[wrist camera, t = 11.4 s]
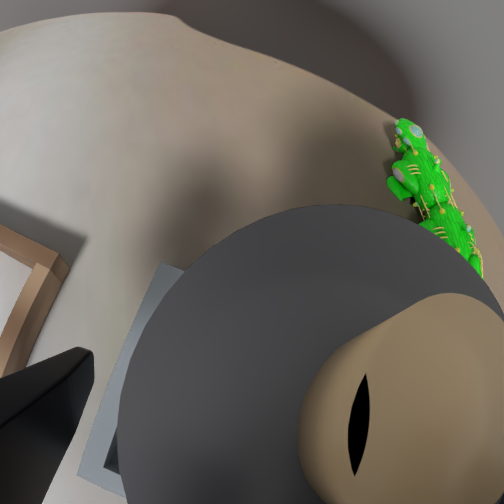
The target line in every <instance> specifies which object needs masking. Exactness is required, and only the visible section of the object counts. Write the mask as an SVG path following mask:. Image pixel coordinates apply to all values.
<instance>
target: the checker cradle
mask: <svg viewBox="0 0 504 504" xmlns="http://www.w3.org/2000/svg"><path fill="white" fill-rule="evenodd" d="M0 251H2V252H4V253H6V254H7V255H9V256H11V257H12V258H14V259H16V260H18V261H20V262H21V263H23V264H25V265H27V266H29V267H30V268H32V269H33V270H32V272H31V274H30V276H29V278H28V279H27V281H26V283H25V285H24V287H23V289H22V291H21V293H20V295H19V297H18V299H17V301H16V303H15V305H14V308H13V310H12V312H11V314H10V316H9V318H8V321H7V323H6V325H5V327H4V330H3V332H2V334H1V337H0V378H1V377H4V376H6V375H9V374H11V373H14V372H16V371H19V370H21V369H24V368H25V366H26V363H27V361H28V358H29V356H30V353H31V351H32V348H33V346H34V343H35V341H36V339H37V336H38V334H39V332H40V330H41V327H42V325H43V323H44V321H45V319H46V316H47V314H48V312H49V310H50V308H51V306H52V304H53V302H54V300H55V298H56V296H57V294H58V292H59V290H60V288H61V286H62V284H63V282H64V280H65V278H66V276H67V274H68V272H69V270H70V269H69V267H68V266H67V264H66V263H65V261H64V260H63V259H62V257H61V256H60V254H59V253H57V252H55V251H53V250H51V249H49V248H47V247H45V246H43V245H41V244H38V243H36V242H34V241H32V240H30V239H28V238H26V237H24V236H22V235H21V234H19V233H17V232H15V231H13V230H11V229H9V228H7V227H5V226H3V225H1V224H0Z"/></svg>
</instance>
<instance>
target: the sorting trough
mask: <svg viewBox="0 0 504 504" xmlns="http://www.w3.org/2000/svg"><path fill="white" fill-rule="evenodd" d="M184 272H185V271H184V270H181V269H178V268H176V267H173V266H170V265H168V264H165V263H162V262H160V264H159V267H158V269H157V271H156V273H155V275H154V277H153V279H152V281H151V284H150V286H149V288H148V290H147V292H146V295H145V297H144V299H143V301H142V304H141V306H140V308H139V310H138V313H137V315H136V317H135V319H134V322H133V324H132V326H131V329H130V331H129V333H128V336H127V338H126V341H125V343H124V345H123V348H122V350H121V353H120V355H119V358H118V360H117V363H116V365H115V368H114V370H113V373H112V375H111V378H110V380H109V383H108V386H107V388H106V391H105V393H104V396H103V399H102V401H101V404H100V407H99V410H98V412H97V415H96V418H95V421H94V424H93V427H92V429H91V432H90V435H89V438H88V441H87V444H86V447H85V450H84V453H83V456H82V460H81V463H80V466H79V469H78V472H77V475H78V476H80V477H82V478H83V479H85V480H87V481H89V482H91V483H93V484H95V485H98V486H100V487H102V488H104V489H106V490H108V491H110V492H113V493H115V494H117V495H120V496H122V497H124V498H126V495H125V491H124V487H123V483H122V479H121V475H120V471H119V462H118V449H117V422H118V412H119V403H120V395H121V391H122V387H123V383H124V380H125V376H126V372H127V369H128V365H129V362H130V358H131V356H132V354H133V352H134V349H135V347H136V345H137V343H138V340H139V338H140V336H141V334H142V331H143V329H144V327H145V325H146V323H147V322H148V320H149V319H150V317H151V315H152V314H153V312H154V311H155V309H156V308H157V306H158V304H159V303H160V301H161V300H162V298H163V297H164V295H165V294H166V293H167V292H168V290H169V289H170V288H171V287H172V286H173V285H174V283H175V282H176V281H177V280H178V279H179V278H180V277H181V275H182V274H183V273H184Z"/></svg>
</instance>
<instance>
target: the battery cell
mask: <svg viewBox="0 0 504 504" xmlns="http://www.w3.org/2000/svg"><path fill="white" fill-rule="evenodd" d="M117 449H118V462H119V471H120V475H121V479H122V483H123V487H124V491H125V495H126V499H127V502H128V504H499V503H500V501H501V499H502V497H503V495H504V314H503V311H502V309H501V307H500V305H499V303H498V302H497V300H496V298H495V297H494V295H493V293H492V292H491V290H490V289H489V287H488V286H487V284H486V283H485V282H484V280H483V279H482V278H481V276H480V275H479V274H478V272H477V271H476V270H475V269H474V268H473V267H472V266H471V265H470V264H469V262H468V261H467V260H466V259H465V258H464V257H463V256H462V255H461V254H460V253H458V252H457V251H456V250H455V249H454V248H453V247H451V246H450V245H449V244H448V243H447V242H445V241H444V240H443V239H441V238H440V237H438V236H437V235H435V234H434V233H432V232H431V231H429V230H427V229H426V228H424V227H422V226H420V225H418V224H416V223H414V222H412V221H410V220H408V219H405V218H403V217H400V216H397V215H394V214H392V213H389V212H386V211H381V210H377V209H373V208H368V207H363V206H353V205H343V204H335V205H314V206H308V207H302V208H296V209H291V210H287V211H284V212H281V213H278V214H274V215H271V216H268V217H265V218H263V219H260V220H258V221H256V222H254V223H252V224H250V225H248V226H246V227H244V228H241V229H239V230H237V231H236V232H234V233H233V234H231V235H230V236H228V237H227V238H225V239H224V240H222V241H221V242H219V243H217V244H216V245H214V246H213V247H212V248H210V249H209V250H208V251H207V252H206V253H205V254H204V255H202V256H201V257H200V258H199V259H198V260H197V261H195V262H194V263H193V264H192V265H191V266H190V267H189V268H188V269H187V270H186V271H185V272H184V273H183V274H182V275H181V277H180V278H179V279H178V280H177V281H176V282H175V283H174V285H173V286H172V287H171V288H170V289H169V290H168V292H167V293H166V294H165V295H164V297H163V298H162V300H161V301H160V303H159V304H158V306H157V308H156V309H155V311H154V312H153V314H152V315H151V317H150V319H149V320H148V322H147V323H146V325H145V327H144V329H143V331H142V334H141V336H140V338H139V340H138V343H137V345H136V347H135V349H134V352H133V354H132V356H131V358H130V362H129V365H128V369H127V372H126V376H125V380H124V383H123V387H122V391H121V395H120V403H119V412H118V422H117Z"/></svg>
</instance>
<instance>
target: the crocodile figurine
mask: <svg viewBox="0 0 504 504" xmlns="http://www.w3.org/2000/svg"><path fill="white" fill-rule="evenodd" d="M395 129H396V132H397V133H398V134H396V133H395V134H394V136H395V137H396V143H395V144H396V146H397V148H396V147H393V149H394V150H395V151H396V152H398V153H402V154H404V155H403V157H402V160H399V161H396V162H394V163H393V164H392V167H391V168H392V171H393V174H394V176H390V177H388V179H387V185H388V187H389V189H390V190H391V191H392V192H393V193H394V195H395V196H396V197H397V198H398V199H399V200H401V201H402V200H403V199H404V198H408V197H413V196H414V199H415V203H414V204H413V206H414V207H416V206H417V207H419V210H420V212H421V215H422V217H423V220H424V217H426V220H424V221H422V222H420V223H419V224H418V225H420V226H422V227H424V228H426V229H427V230H429V231H431V232H432V233H434V234H435V235H437V236H438V237H440V238H441V239H443V240H444V241H445V242H447V243H448V244H449V245H450V246H451V247H453V248H454V249H455V250H456V251H457V252H458V253H460V254H461V255H462V256H463V257H464V258H465V259H466V260H467V261H468V262H469V264H470V265H471V266H472V267H473V268H474V269H475V270H476V271H477V272H478V274H479V275H480V276H481V278H482V279H483V270H482V269H483V265H482V256H481V254H480V253H479V248H475V245H476V240H475V236H474V233H473V230H472V227H471V226H470V225H467V224H465V222H464V220H463V218H462V215H463V214H464V213H465V212H464V211H463V212H462V211H460V212H459V210H458V208H457V206H456V203H455V201H454V199H453V197H452V195H451V193H452V192H453V191H454V189H453V188H451V182H450V179H449V177H448V175H447V173H446V172H445V171H444V170H442V169H441V168H440V166H439V164H442V162H441V160H440V159H439V158H438V156H437V155H436V156H435V155H432V154H431V152H430V150H429V149H428V144H427V143H426V137H425V135H424V134H423V132H422V129H421V128H420V127H419V126H417V125H415V124H414V123H412V122H411V121H409V120H407V119H399V120H396V121H395ZM450 195H451V197H452V199H450ZM451 200H452V201H454V205H455V206H456V207H455V206H454V205H453V204H452V202H451ZM449 202H451V204H449ZM420 208H421V209H422V211H421V209H420ZM423 211H425V213H426V212H427V213H428V214H427V213H426V216H424V215H423V214H422V212H423ZM477 253H478V255H477ZM479 255H480V257H481V258H480V257H479Z"/></svg>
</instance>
